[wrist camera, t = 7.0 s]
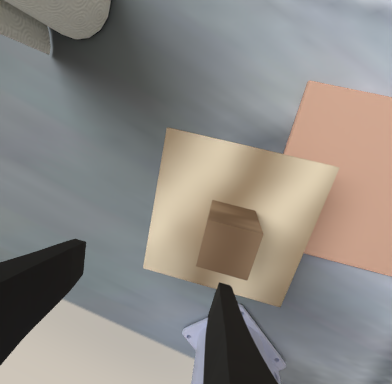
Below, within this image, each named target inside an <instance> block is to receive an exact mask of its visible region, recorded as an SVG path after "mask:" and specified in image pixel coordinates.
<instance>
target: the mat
mask: <svg viewBox="0 0 392 384" xmlns="http://www.w3.org/2000/svg"><path fill="white" fill-rule="evenodd" d="M283 154H285V155H289V156H294V157H298V158H302V159H307V160H311V161H315V162H320V163H324V164H328V165H332V166H336V167H339V170H338V173H337V175H336V178H335V180H334V182H333V185H332V187H331V189H330V192H329V194H328V196H327V199H326V201H325V203H324V206H323V208H322V210H321V213H320V215H319V218H318V220H317V222H316V225H315V227H314V229H313V232H312V234H311V236H310V239H309V241H308V243H307V246H306V248H305V250H304V253H305V254H309V255H313V256H316V257H320V258H324V259H328V260H331V261H335V262H339V263H343V264H347V265H350V266H354V267H358V268H362V269H365V270H369V271H373V272H377V273H381V274H384V275H388V276H392V97H388V96H383V95H378V94H373V93H368V92H363V91H358V90H353V89H349V88H344V87H339V86H334V85H329V84H324V83H319V82H314V81H308V82H307V85H306V88H305V91H304V94H303V97H302V100H301V103H300V106H299V109H298V112H297V115H296V118H295V121H294V124H293V127H292V130H291V133H290V136H289V138H288V141H287V144H286V147H285V150H284V153H283Z"/></svg>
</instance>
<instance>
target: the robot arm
mask: <svg viewBox="0 0 392 384" xmlns="http://www.w3.org/2000/svg"><path fill="white" fill-rule="evenodd" d="M85 248H86V242H84V241H81V240H78V239H73V240H69V241H66V242H63V243H60V244H57V245H54V246H51V247H48V248H45V249H42V250H39V251H36V252H33V253H30V254H27V255H24V256H20V257H17V258H14V259H10V260H7V261H4V262H0V365H1V364H2V363H3V362H4V360H5V359H6V358H7V357H8V356H9V354H10V353H11V352H12V351H13V350H14V349H15V347H16V346H17V345H18V344H19V343H20V341H21V340H22V339H23V338H24V337H25V336H26V335H27V334H28V333H29V332H30V331H31V330H32V329H33V327H35V326H36V324H38V323H39V322H40V321H41V320H42V319H43V318H44V317H45V316H46V315H47V314H48V313H49V312H50V310H52V309H53V308H54V307H55V306H56V305H57V304H58V303H59V302H60V301H61V300H62V298H63V297H64V296H65V295H66V294H67V293H68V292H69V291H70V290H71V289H72V288H73V286H74V285H75V284H76V283H77V281H78V280H79V279H80V277H81V276H82V275H83V270H84V259H85ZM241 312H243V313H241ZM182 334H183V335H184V337H185V338H186V339H187V340H188V342H189V343H190V344H191V345H192V346H193V348H194V349H195V350H196V355H195V362H194V369H193V375H192V382H191V384H281V380H280V375H279V370H282V369H284V368H285V367H286V364H285V361H284V360H283V359H282V357H281V356H280V355H279V353H278V352H277V351H276V349H275V348H274V347H273V345H272V344H271V343H270V341H269V340H268V339H267V337H266V336H265V335H264V333H263V332H262V331H261V329H260V328H259V327H258V325H257V324H256V323H255V321H254V320H253V319H252V317H251V316H250V315H249V313H248V312H247V311H246V309H245V308H244V307H243V305H241V304H238V303H237V300H236V298H235V295H234V292H233V289H232V287H231V286H230V285H227V284H224V283H220V282H219V284H218V287H217V290H216V293H215V296H214V299H213V302H212V305H211V308H210V311H209V315H208V318H205V319H203V320H201V321H199V322H197V323H194V324H192V325H190V326H188V327H186V328H184V329H183V331H182ZM189 335H190V336H189Z"/></svg>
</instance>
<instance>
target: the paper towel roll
mask: <svg viewBox="0 0 392 384" xmlns="http://www.w3.org/2000/svg"><path fill="white" fill-rule="evenodd" d="M110 3H111V0H0V34H2V35H4V36H6V37H9V38H11V39H13V40H16V41H18V42H20V43H23V44H25V45H27V46H30V47H32V48H34V49H37V50H39V51H41V52H44V53H46V54H48V55H49V53H50V37H49V31H48V27H47V26H49V27H50V28H52V29H54V30H55V31H57V32H59V33H60V34H62V35H65V36H68V37H70V38H73V39H83V38H90V37H91V36H93V35H94V34H95V33H97V32H98V31H100V30H101V28H102V26H103V25H104V23H105V21H106V19H107V18H108V14H109V9H110Z"/></svg>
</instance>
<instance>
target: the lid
mask: <svg viewBox="0 0 392 384" xmlns="http://www.w3.org/2000/svg"><path fill="white" fill-rule="evenodd" d="M338 170H339V167H336V166H332V165H328V164H324V163H320V162H315V161H311V160H307V159H302V158H298V157H294V156H289V155H285V154H281V153H276V152H272V151H268V150H263V149H259V148H255V147H251V146H246V145H242V144H238V143H233V142H229V141H225V140H220V139H216V138H212V137H207V136H203V135H199V134H195V133H190V132H186V131H182V130H177V129H173V128H167V130H166V136H165V142H164V148H163V154H162V160H161V165H160V171H159V177H158V183H157V189H156V195H155V201H154V207H153V213H152V219H151V224H150V230H149V236H148V242H147V248H146V254H145V260H144V266H143V268H144V269H148V270H151V271H155V272H158V273H162V274H165V275H169V276H172V277H176V278H179V279H183V280H186V281H190V282H193V283H197V284H200V285H204V286H207V287H211V288H214V289H217V287H218V284H219V282H220V283H224V284H227V285H230V286H231V287H232V289H233V292H234V294H235V295H239V296H242V297H246V298H249V299H253V300H256V301H260V302H263V303H267V304H270V305H274V306H277V307H281V305H282V302H283V300H284V297H285V295H286V293H287V290H288V288H289V286H290V283H291V281H292V279H293V276H294V274H295V272H296V269H297V267H298V265H299V262H300V260H301V258H302V255H303V253H304V250H305V248H306V246H307V243H308V241H309V239H310V236H311V234H312V232H313V229H314V227H315V225H316V222H317V220H318V218H319V215H320V213H321V210H322V208H323V206H324V203H325V201H326V199H327V196H328V194H329V192H330V189H331V187H332V185H333V182H334V180H335V178H336V175H337V173H338Z"/></svg>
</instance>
